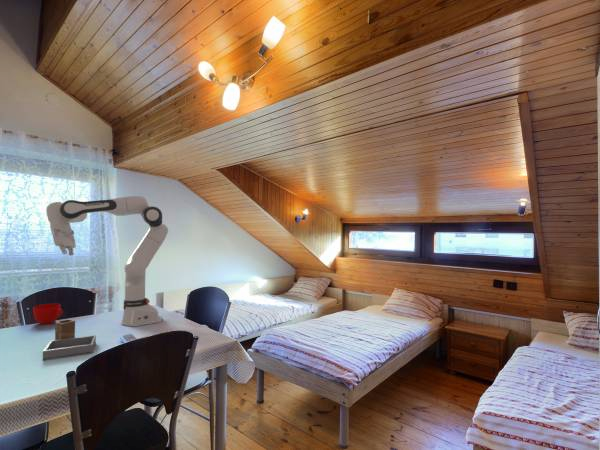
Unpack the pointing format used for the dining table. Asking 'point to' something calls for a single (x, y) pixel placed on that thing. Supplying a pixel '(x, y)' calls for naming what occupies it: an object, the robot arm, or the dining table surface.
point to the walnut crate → (64, 329)
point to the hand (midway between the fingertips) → (68, 254)
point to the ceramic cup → (47, 313)
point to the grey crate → (69, 347)
